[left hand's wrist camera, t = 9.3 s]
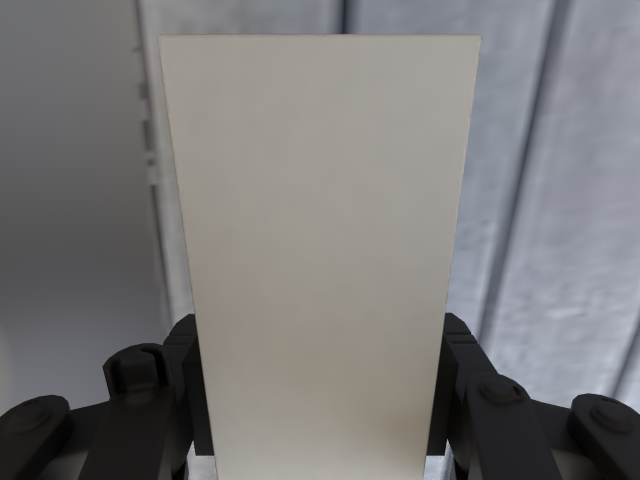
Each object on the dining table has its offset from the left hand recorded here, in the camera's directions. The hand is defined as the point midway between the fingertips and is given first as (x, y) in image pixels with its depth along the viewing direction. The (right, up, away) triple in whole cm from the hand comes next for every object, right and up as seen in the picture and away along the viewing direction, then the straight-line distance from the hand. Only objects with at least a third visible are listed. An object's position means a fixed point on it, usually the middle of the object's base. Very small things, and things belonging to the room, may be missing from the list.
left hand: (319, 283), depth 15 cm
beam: (0, -24, +10) cm, 26 cm away
